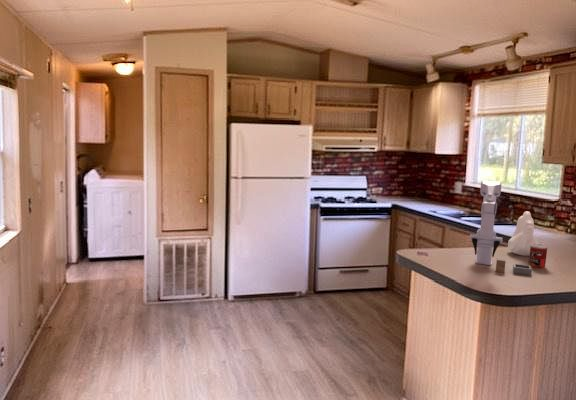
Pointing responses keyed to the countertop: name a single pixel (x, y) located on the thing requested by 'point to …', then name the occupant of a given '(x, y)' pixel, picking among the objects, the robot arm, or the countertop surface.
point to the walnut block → (500, 265)
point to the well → (522, 269)
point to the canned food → (537, 256)
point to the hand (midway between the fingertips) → (484, 255)
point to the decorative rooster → (523, 236)
